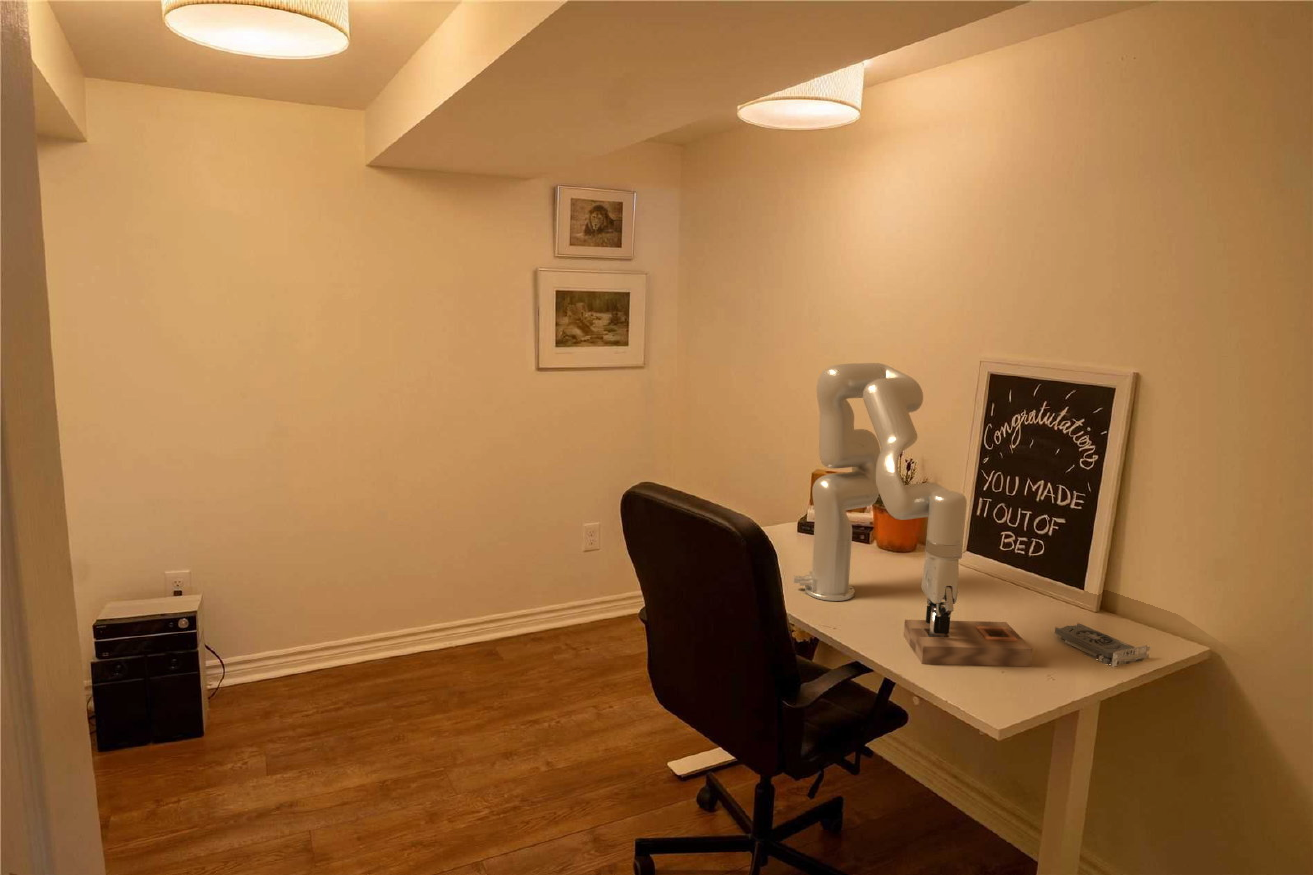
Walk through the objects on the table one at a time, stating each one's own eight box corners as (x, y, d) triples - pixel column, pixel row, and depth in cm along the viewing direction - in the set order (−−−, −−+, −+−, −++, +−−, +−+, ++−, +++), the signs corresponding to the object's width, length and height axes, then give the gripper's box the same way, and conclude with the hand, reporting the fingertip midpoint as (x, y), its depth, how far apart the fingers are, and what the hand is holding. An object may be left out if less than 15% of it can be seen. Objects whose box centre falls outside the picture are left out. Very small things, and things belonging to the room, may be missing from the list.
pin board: (921, 663, 176) (923, 644, 175) (903, 636, 189) (904, 617, 188) (1030, 666, 175) (1032, 647, 174) (1004, 638, 189) (1006, 620, 188)
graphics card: (1155, 646, 179) (1116, 654, 174) (1152, 662, 180) (1114, 671, 175) (1087, 618, 194) (1050, 624, 190) (1085, 633, 195) (1048, 640, 190)
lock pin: (930, 652, 181) (934, 609, 179) (926, 646, 184) (929, 604, 182) (944, 653, 181) (948, 610, 179) (939, 647, 184) (943, 604, 182)
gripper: (915, 536, 186) (908, 612, 190) (939, 561, 170) (931, 644, 173) (948, 536, 186) (941, 613, 190) (975, 562, 170) (967, 645, 173)
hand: (937, 627), depth 181 cm, fingers open, 4 cm apart
